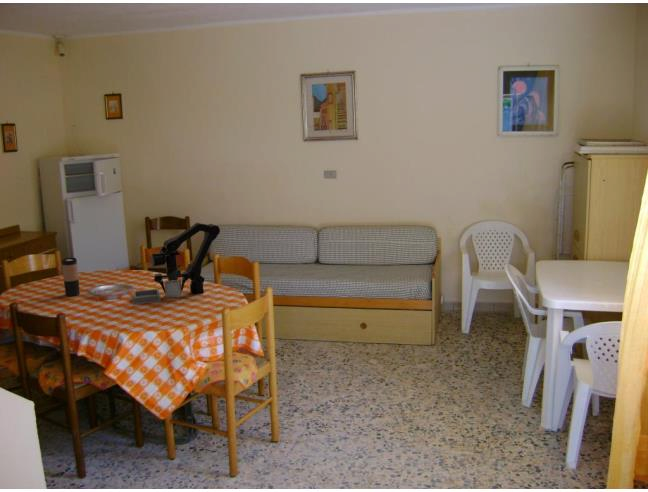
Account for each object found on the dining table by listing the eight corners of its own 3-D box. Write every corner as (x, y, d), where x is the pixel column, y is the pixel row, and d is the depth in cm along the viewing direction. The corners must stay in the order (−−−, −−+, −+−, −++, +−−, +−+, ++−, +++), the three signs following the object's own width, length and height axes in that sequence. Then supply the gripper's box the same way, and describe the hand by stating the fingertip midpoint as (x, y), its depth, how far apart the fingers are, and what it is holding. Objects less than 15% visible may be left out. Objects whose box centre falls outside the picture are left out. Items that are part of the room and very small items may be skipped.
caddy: (159, 293, 363) (159, 288, 362) (160, 301, 348) (160, 296, 347) (133, 295, 359) (132, 290, 359) (133, 304, 344) (132, 298, 344)
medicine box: (182, 295, 359) (181, 279, 357) (179, 297, 355) (178, 282, 353) (167, 295, 360) (166, 279, 358) (165, 297, 355) (164, 281, 353)
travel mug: (62, 295, 362) (58, 260, 357) (73, 292, 368) (69, 257, 364) (72, 297, 358) (68, 261, 354) (83, 293, 365) (79, 258, 360)
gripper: (153, 268, 343) (155, 297, 347) (190, 265, 348) (192, 294, 351) (153, 263, 354) (155, 291, 357) (188, 261, 358) (190, 288, 362)
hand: (173, 291), depth 357 cm, fingers closed on medicine box, 9 cm apart
